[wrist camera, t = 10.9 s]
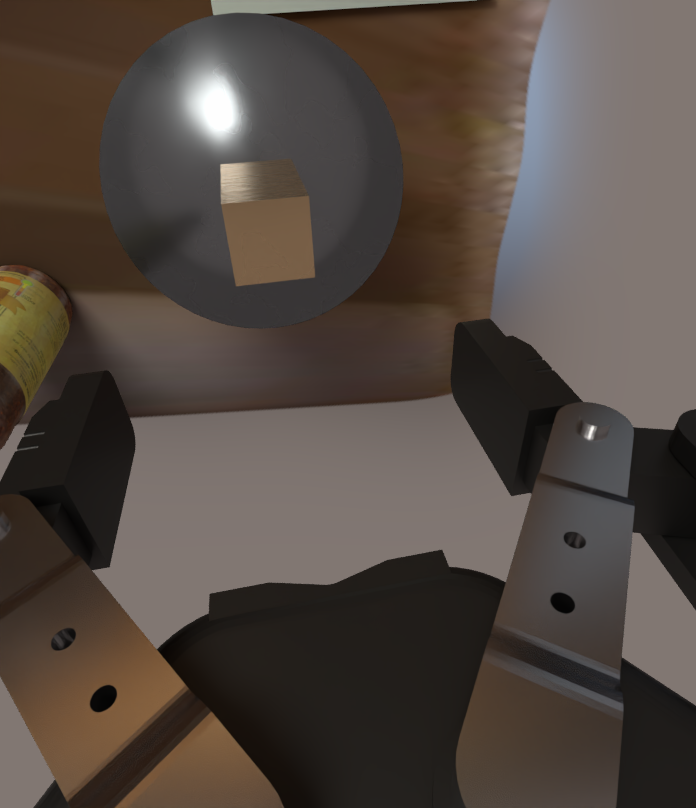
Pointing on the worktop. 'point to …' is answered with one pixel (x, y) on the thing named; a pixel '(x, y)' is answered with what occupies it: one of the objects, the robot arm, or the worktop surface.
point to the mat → (305, 5)
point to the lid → (251, 170)
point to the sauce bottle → (27, 337)
